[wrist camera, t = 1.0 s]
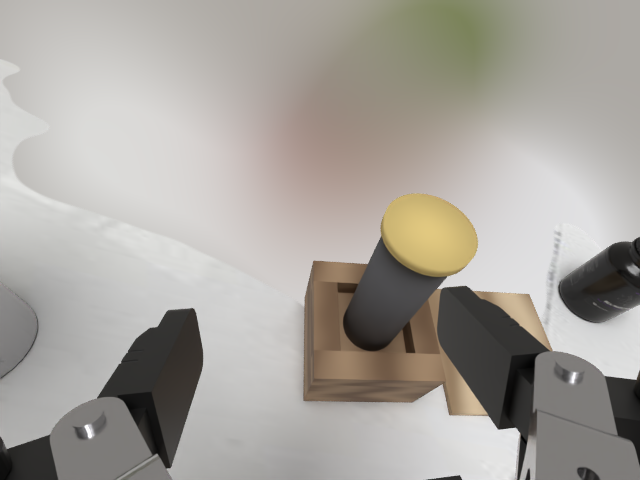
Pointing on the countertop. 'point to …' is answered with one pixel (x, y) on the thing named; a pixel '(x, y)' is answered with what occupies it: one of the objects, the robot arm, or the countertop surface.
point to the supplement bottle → (605, 283)
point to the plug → (407, 267)
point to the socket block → (355, 363)
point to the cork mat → (455, 386)
